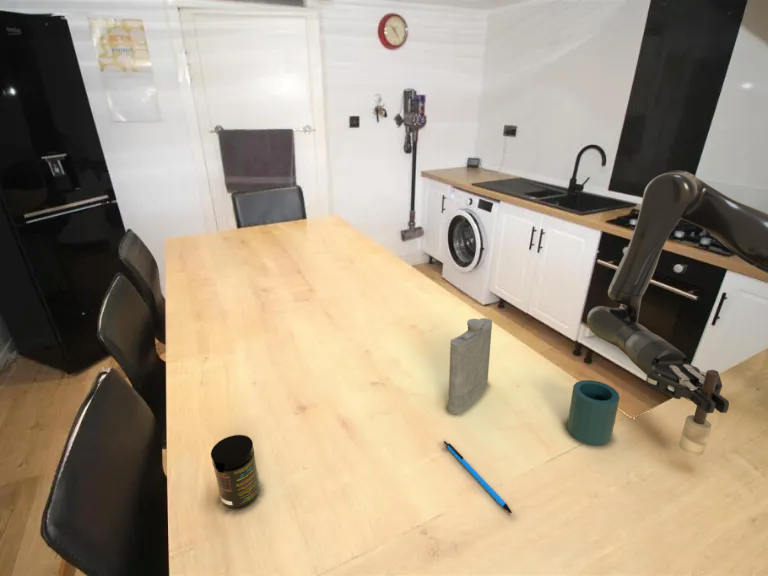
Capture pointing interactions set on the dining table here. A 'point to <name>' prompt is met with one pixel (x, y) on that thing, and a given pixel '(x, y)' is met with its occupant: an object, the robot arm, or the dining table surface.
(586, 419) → the teal pen holder
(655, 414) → the dining table surface
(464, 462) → the pen
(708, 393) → the brush
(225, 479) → the supplement container
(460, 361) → the hip flask
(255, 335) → the dining table surface
